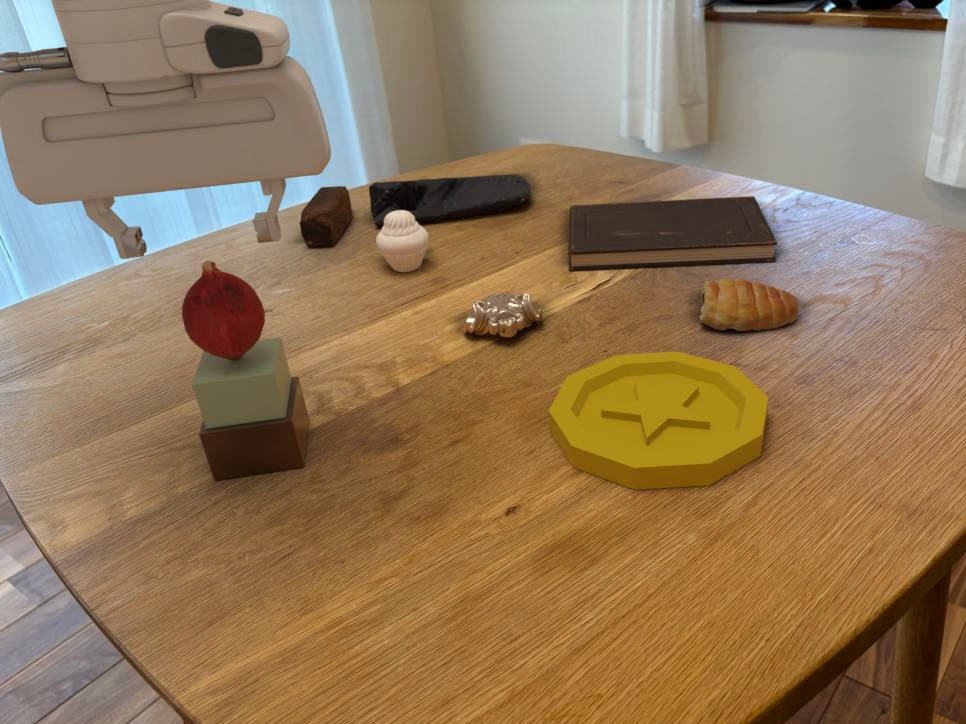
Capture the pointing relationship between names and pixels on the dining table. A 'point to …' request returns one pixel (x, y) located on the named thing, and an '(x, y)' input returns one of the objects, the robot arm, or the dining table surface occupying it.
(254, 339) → the onion
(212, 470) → the walnut block
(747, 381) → the decorative disc
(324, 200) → the dark brown bar
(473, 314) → the ornament
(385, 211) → the dark slate chunk
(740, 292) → the pastry
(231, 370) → the sage block
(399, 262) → the cream cupcake
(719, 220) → the hardcover book
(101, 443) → the dining table surface
